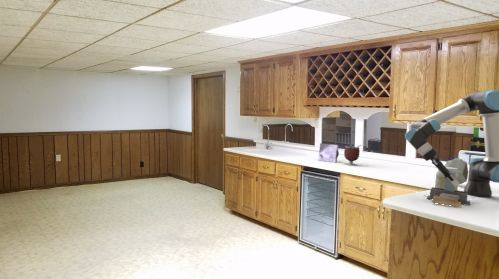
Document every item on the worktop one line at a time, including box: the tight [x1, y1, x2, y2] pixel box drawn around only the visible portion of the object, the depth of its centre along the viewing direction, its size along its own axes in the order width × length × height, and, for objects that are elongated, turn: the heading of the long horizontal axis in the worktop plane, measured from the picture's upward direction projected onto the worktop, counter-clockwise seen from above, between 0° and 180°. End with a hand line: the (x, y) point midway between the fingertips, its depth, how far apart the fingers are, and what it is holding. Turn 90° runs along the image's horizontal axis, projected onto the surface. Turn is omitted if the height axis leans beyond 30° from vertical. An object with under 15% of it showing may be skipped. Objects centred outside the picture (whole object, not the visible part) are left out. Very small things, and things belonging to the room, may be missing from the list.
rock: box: [444, 157, 469, 185], centre depth 273 cm, size 27×6×20 cm, turn 1°
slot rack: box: [426, 186, 471, 206], centre depth 213 cm, size 8×21×6 cm, turn 59°
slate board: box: [444, 172, 456, 192], centre depth 213 cm, size 3×5×16 cm, turn 59°
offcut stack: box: [432, 193, 462, 208], centre depth 203 cm, size 8×13×5 cm, turn 59°
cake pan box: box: [318, 143, 340, 164], centre depth 380 cm, size 19×5×18 cm, turn 58°
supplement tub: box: [434, 167, 459, 191], centre depth 230 cm, size 12×12×17 cm
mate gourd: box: [343, 144, 362, 167], centre depth 362 cm, size 16×14×20 cm
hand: (457, 184), depth 211 cm, fingers closed on slate board, 3 cm apart
